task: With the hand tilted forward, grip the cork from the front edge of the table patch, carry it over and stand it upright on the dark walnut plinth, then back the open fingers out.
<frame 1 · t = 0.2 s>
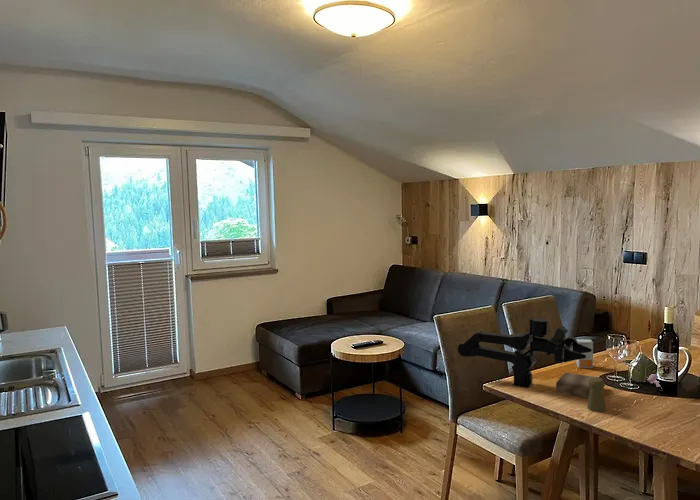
hand: (588, 353, 195), 17 cm above the table, tool horizontal, fingers open, 9 cm apart
walnut plinth: (579, 390, 203), on the table
skincare box: (584, 367, 230), on the table
cork: (596, 409, 185), on the table
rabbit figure: (655, 384, 206), on the table
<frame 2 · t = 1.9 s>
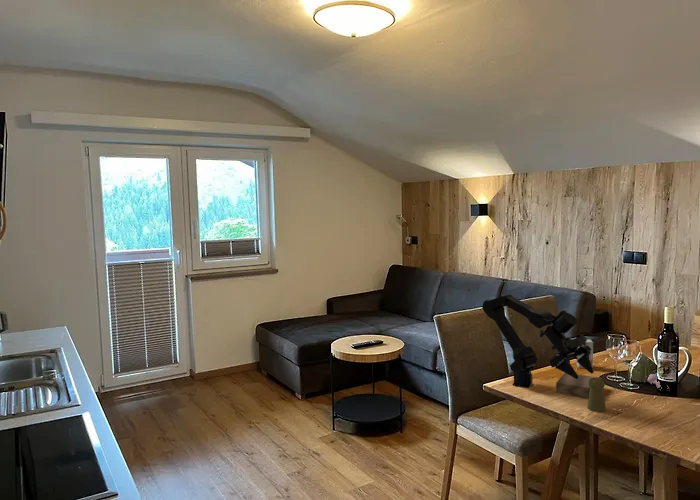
hand: (585, 375, 187), 11 cm above the table, tool tilted 45°, fingers open, 9 cm apart
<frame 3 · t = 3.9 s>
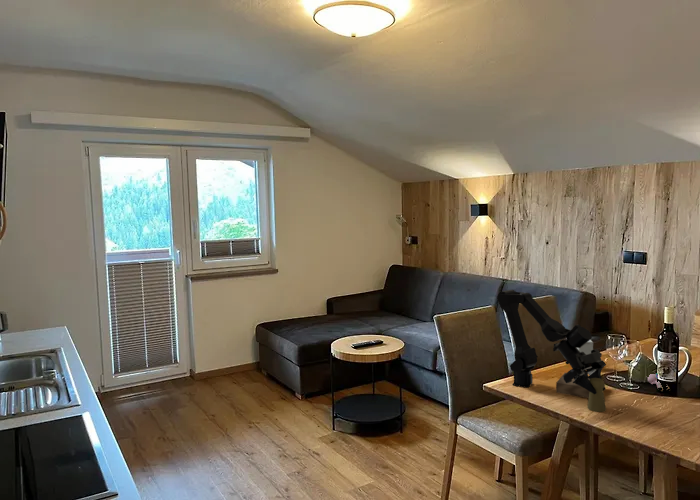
hand: (600, 391, 183), 7 cm above the table, tool tilted 45°, fingers closed on cork, 5 cm apart
cork: (596, 409, 185), on the table, touching gripper
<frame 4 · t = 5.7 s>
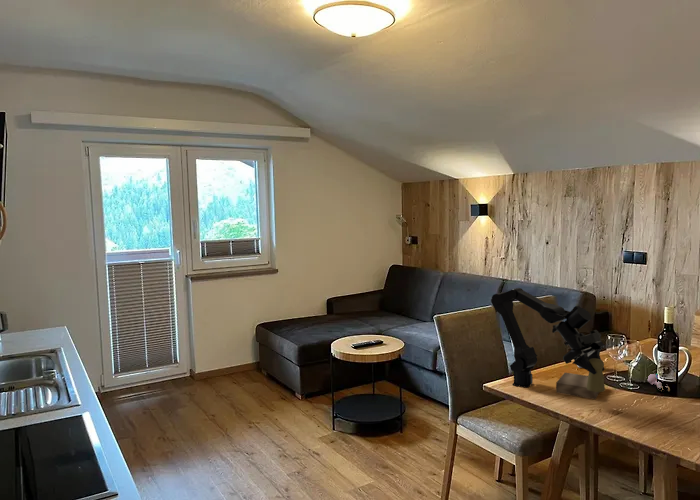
hand: (599, 372, 184), 13 cm above the table, tool tilted 45°, fingers closed on cork, 5 cm apart
cork: (595, 389, 186), point 7 cm above the table, touching gripper
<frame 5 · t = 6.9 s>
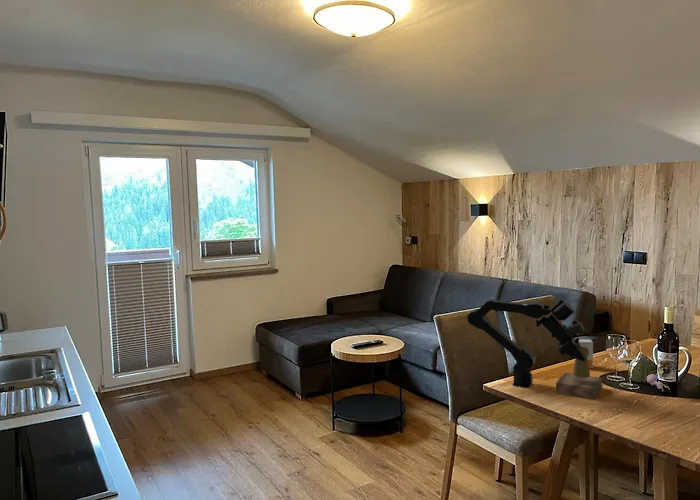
hand: (585, 358, 199), 13 cm above the table, tool tilted 45°, fingers closed on cork, 5 cm apart
cork: (581, 375, 201), point 7 cm above the table, touching gripper
when the fingers open (12 cm above the table, at t = 7.9 s): cork drops 1 cm, resting on walnut plinth.
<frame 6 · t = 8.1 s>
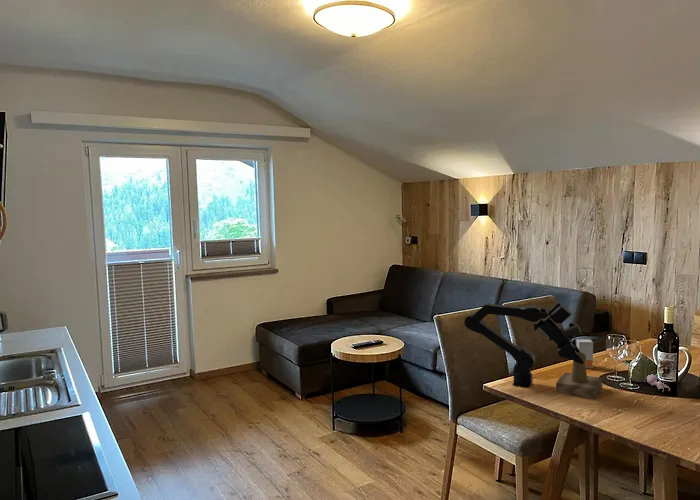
hand: (583, 360, 201), 12 cm above the table, tool tilted 45°, fingers open, 7 cm apart
cork: (579, 380, 202), point 4 cm above the table, touching walnut plinth
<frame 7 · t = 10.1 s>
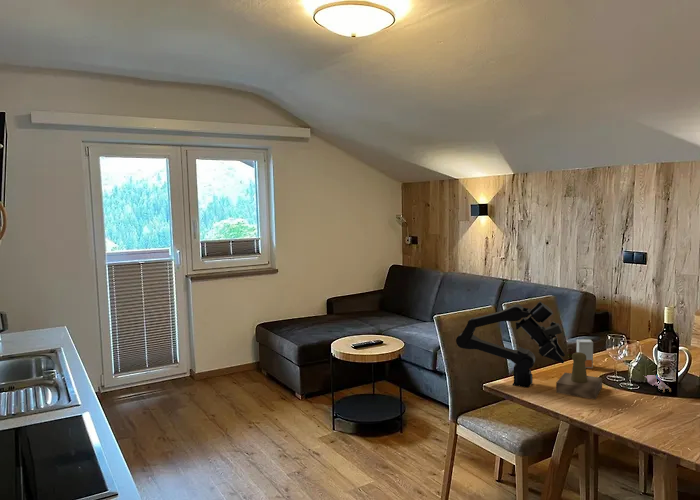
hand: (563, 359, 204), 12 cm above the table, tool tilted 45°, fingers open, 9 cm apart
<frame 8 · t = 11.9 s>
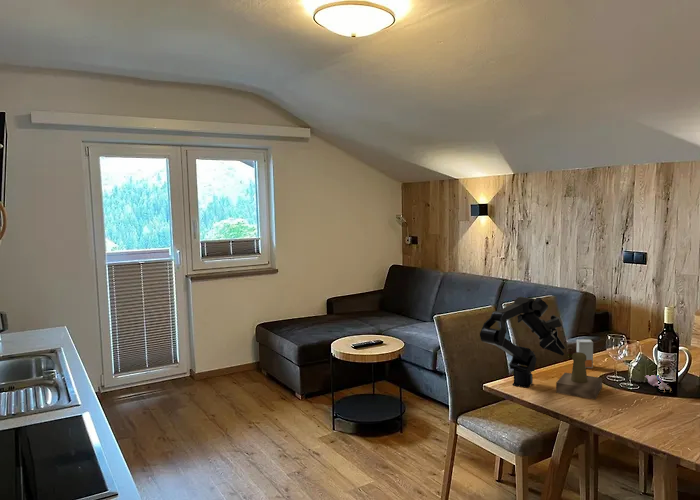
hand: (564, 351, 209), 14 cm above the table, tool tilted 45°, fingers open, 9 cm apart
at the end: cork inside the target area on the walnut plinth (0.0 cm from its centre), point 3.8 cm above the walnut plinth's base; cork tilted 0°; the gripper is holding nothing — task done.
